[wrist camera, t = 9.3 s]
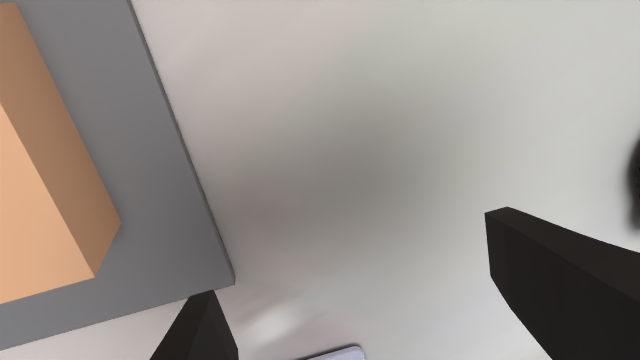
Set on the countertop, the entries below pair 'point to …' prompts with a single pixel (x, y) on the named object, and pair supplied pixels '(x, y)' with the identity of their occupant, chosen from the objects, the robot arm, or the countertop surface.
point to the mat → (121, 174)
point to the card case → (44, 177)
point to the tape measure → (638, 180)
